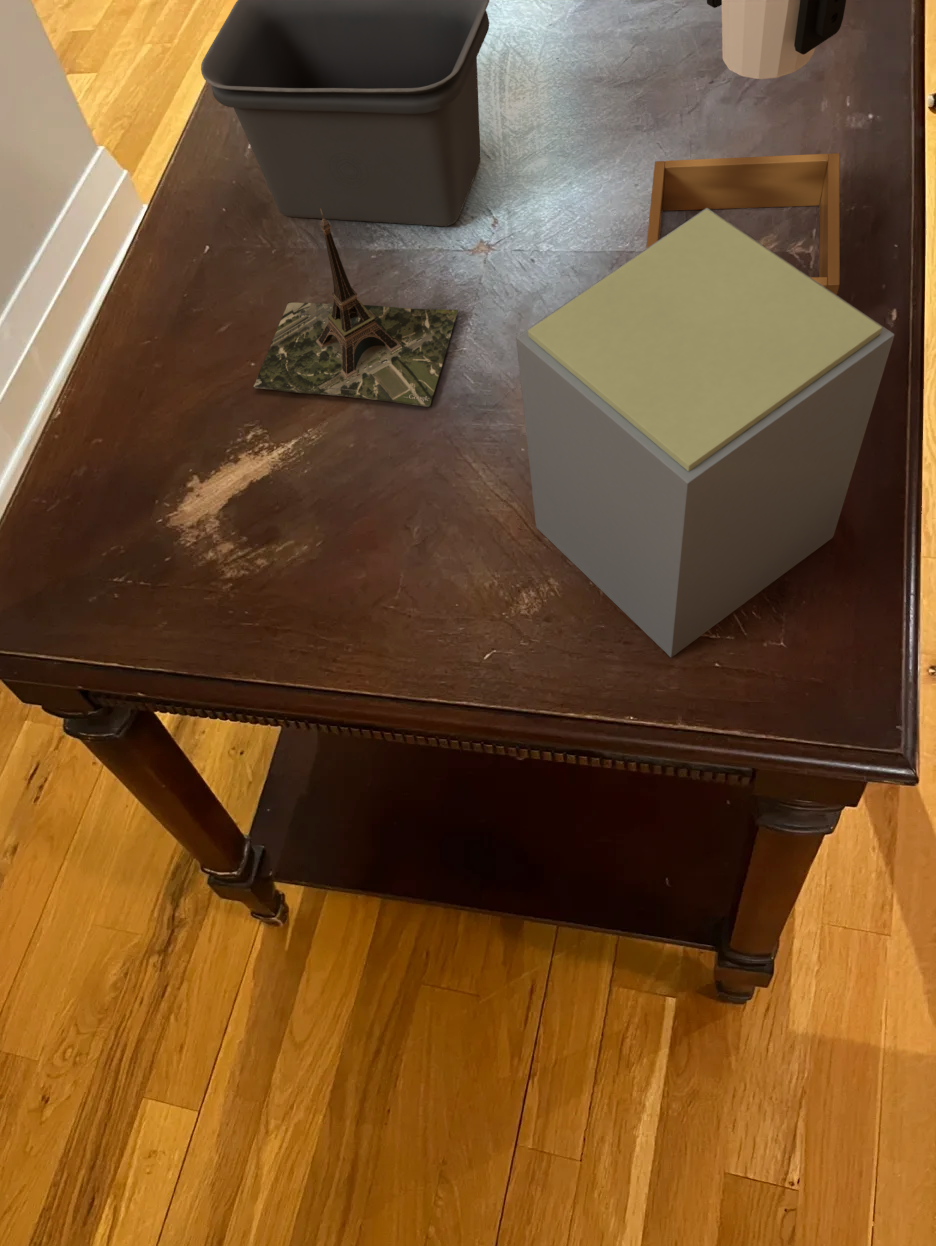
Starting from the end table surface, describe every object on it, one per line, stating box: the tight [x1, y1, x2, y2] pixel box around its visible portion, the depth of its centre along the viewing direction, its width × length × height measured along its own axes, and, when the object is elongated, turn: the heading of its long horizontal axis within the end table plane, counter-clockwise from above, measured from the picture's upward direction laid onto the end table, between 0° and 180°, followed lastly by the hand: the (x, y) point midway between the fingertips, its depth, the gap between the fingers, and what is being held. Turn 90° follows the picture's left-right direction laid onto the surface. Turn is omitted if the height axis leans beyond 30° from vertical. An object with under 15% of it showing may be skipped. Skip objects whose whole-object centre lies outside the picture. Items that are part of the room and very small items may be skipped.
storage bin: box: [200, 0, 490, 227], centre depth 90 cm, size 21×16×14 cm
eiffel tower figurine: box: [252, 208, 459, 408], centre depth 82 cm, size 15×10×13 cm
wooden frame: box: [645, 152, 841, 296], centre depth 83 cm, size 14×14×4 cm
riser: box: [515, 208, 895, 658], centre depth 67 cm, size 14×14×18 cm
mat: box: [528, 209, 882, 471], centre depth 59 cm, size 13×13×1 cm
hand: (771, 16), depth 67 cm, fingers closed on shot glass, 6 cm apart
